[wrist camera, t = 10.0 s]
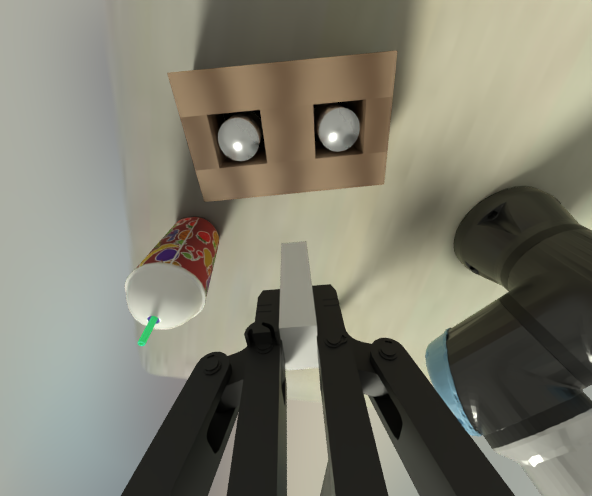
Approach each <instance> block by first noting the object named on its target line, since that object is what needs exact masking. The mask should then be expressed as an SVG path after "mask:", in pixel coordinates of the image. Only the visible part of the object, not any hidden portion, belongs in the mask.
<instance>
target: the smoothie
mask: <svg viewBox="0 0 592 496" xmlns="http://www.w3.org/2000/svg"><path fill="white" fill-rule="evenodd" d="M218 245H219V236H218V233H217V231H216V230H215V228H214V226H213V225H212V224H211V223H210V222H209V221H207V220H205V219H203V218H200V217H188V218H183V219H181V220H179V221H177V222H176V224H175V225H174V226H173V227H172V228H171V229H170V230H169V232H168V233H167V234H166V235H165V236H164V237H163V238H162V240H161V241H160V242H159V243H158V244H157V245H156V246H155V247H154V249H153V250H152V251H151V252H150V253H149V254H148V255H147V256H146V258H145V259H144V260H143V261H142V262H141V263H140V264H139V266H138V267H137V268H136V269H134V270H133V271H132V273H131V274H130V275H129V276H128V277H127V279H126V283H125V291H126V300H127V305H128V308H129V311H130V312H131V314H132V315H133V317H134V318H135V319H136V320H137V321H138V322H139V323H141V324H143V325H145V326H146V328H145V330H144V332H143V333H142V335H141V337H140V339H139V341H138V345H140V346H144V345H145V344H146V342H147V340H148V338H149V336H150V334H151V332H152V330H153V329H160V330H165V329H172V328H175V327H178V326H180V325H182V324H184V323H186V322H187V321H188V320H189V319H191V318H193V317H195V316H196V315H197V314H198V313H200V312H201V311H202V309H203V307H204V305H205V303H206V296H207V292H208V288H209V283H210V279H211V275H212V271H213V266H214V262H215V258H216V253H217V249H218Z"/></svg>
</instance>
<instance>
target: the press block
mask: <svg viewBox="0 0 592 496" xmlns="http://www.w3.org/2000/svg"><path fill="white" fill-rule="evenodd" d="M396 60H397V51H387V52H376V53H366V54H356V55H346V56H335V57H325V58H315V59H304V60H294V61H284V62H274V63H263V64H253V65H243V66H233V67H222V68H212V69H202V70H192V71H181V72H171V73H167V74H168V77H169V81H170V84H171V88H172V91H173V95H174V98H175V102H176V105H177V108H178V112H179V115H180V119H181V122H182V126H183V129H184V133H185V136H186V140H187V143H188V147H189V150H190V154H191V157H192V161H193V164H194V167H195V171H196V174H197V178H198V181H199V185H200V188H201V192H202V195H203V199H204V202H209V201H219V200H230V199H240V198H250V197H260V196H270V195H280V194H290V193H301V192H311V191H321V190H331V189H341V188H351V187H362V186H372V185H382V184H384V179H385V169H386V159H387V150H388V140H389V130H390V120H391V110H392V100H393V90H394V80H395V70H396ZM343 101H348V103H347V109H349V110H351V111H352V112H353V113H354V114H355V115H356V116H357V118H358V120H359V125H360V130H359V135H358V138H357V140H356V141H355V143H354V144H353V145H352V146H351V147H350V148H348V149H346V150H344V151H339V152H336V151H332V150H329V149H328V148H326V147H325V146H324V145H323V143H322V142H321V141H320V142H315V137H314V113H313V104H323V103H333V102H343ZM252 110H260V114H261V121H262V128H263V135H264V142H265V147H259V148H258V150H257V152H256V153H255V155H254V156H253V157H252V158H250V159H248V160H245V161H236V160H233V159H231V158H229V157H228V156H226V155H225V154H224V153H223V151H222V150H221V148H220V146H219V143H218V132H219V129H220V127H221V126H222V124H223V123H224V122H225V119H224V114H223V113H231V112H241V111H252Z"/></svg>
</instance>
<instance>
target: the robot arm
mask: <svg viewBox="0 0 592 496" xmlns="http://www.w3.org/2000/svg"><path fill="white" fill-rule="evenodd" d="M454 251H455V254H456V256H457V258H458V259H459V260H460V262H461V263H462V264H463V265H464V266H465V267H466V268H468V269H469V270H470V271H472V272H474V273H476V274H478V275H480V276H482V277H484V278H486V279H489V280H491V281H493V282H495V283H497V284H500V285H502V286H503V287H504V288H506V289H507V290H508V291H509V292H508V293H506V294H505V295H503V296H502V297H500V298H499V299H497V300H495V301H494V302H492V303H491V304H489V305H488V306H486V307H484V308H483V309H481V310H480V311H478V312H476V313H475V314H473V315H472V316H470V317H469V318H467V319H465V320H464V321H462V322H461V323H459V324H457V325H456V326H454V327H453V328H448V329H446V330H445V332H444V334H442V335H441V336H439V337H438V338H437V339H435V340H434V341H432V342H431V343H430V344H429V345H428V347H427V349H426V355H425V357H426V366H427V370H428V373H429V376H430V379H431V381H432V384H433V386H434V387H433V386H432V384H431V383H430V382H429V380H428V379H427V378H426V376H425V375H424V374H423V372H422V371H421V370H420V368H419V367H418V366H417V364H416V363H415V362H414V360H413V359H412V358H411V356H410V355H409V354H408V352H407V351H406V350H405V348H404V347H403V346H402V345H401V344H400V343H399V342H397V341H395V340H393V339H389V338H379V339H377V340H375V341H374V342H373V343H372V344H369V343H364V342H360V341H357V340H355V339H353V338H352V337H351V336H350V335H349V334H348V333H347V332H346V329H345V326H344V322H343V318H342V314H341V309H340V306H339V301H338V297H337V293H336V290H335V289H334V288H333V287H332V286H331V284H329V285H317V286H312V282H311V274H310V266H309V258H308V251H307V243H306V241H304V242H292V243H282V245H281V277H280V289H276V290H263V291H262V293H261V294H260V296H259V297H258V302H257V310H256V317H255V322H254V323H252V324H251V325H250V326H249V327H248V328H247V329H246V331H245V333H244V335H245V339H246V343H247V347H246V348H245V349H243V350H242V351H240V352H238V353H235V354H232V355H229V356H227V355H226V354H224V353H222V352H212V353H209V354H207V355H205V356H204V357H203V358H201V359H200V361H199V362H198V363H197V365H196V366H195V368H194V370H193V371H192V373H191V375H190V377H189V378H188V380H187V382H186V384H185V385H184V387H183V389H182V391H181V392H180V394H179V396H178V397H177V399H176V401H175V403H174V404H173V406H172V408H171V410H170V411H169V413H168V415H167V417H166V418H165V420H164V422H163V424H162V425H161V427H160V429H159V430H158V432H157V434H156V436H155V437H154V439H153V441H152V443H151V444H150V446H149V448H148V450H147V451H146V453H145V455H144V456H143V458H142V460H141V462H140V463H139V465H138V467H137V469H136V470H135V472H134V474H133V476H132V477H131V479H130V481H129V483H128V484H127V486H126V488H125V489H124V491H123V493H122V495H121V496H208V493H209V491H210V488H211V485H212V482H213V480H214V477H215V475H216V472H217V469H218V466H219V464H220V461H221V458H222V456H223V453H224V450H225V447H226V445H227V442H228V439H229V436H230V434H231V431H232V428H233V426H234V423H235V420H236V418H237V415H238V420H237V428H236V434H235V441H234V448H233V456H232V462H231V470H230V477H229V483H228V490H227V496H287V423H286V422H287V420H286V419H287V414H286V413H287V411H286V409H287V405H286V403H287V385H286V377H285V368H286V370H298V369H311V368H319V374H320V391H321V396H322V405H323V414H324V423H325V432H326V441H327V450H328V460H329V469H330V478H331V487H332V496H388V492H387V489H386V484H385V480H384V476H383V472H382V468H381V464H380V460H379V456H378V452H377V447H376V443H375V439H374V435H373V431H372V427H371V423H370V419H369V415H368V411H367V407H366V402H365V398H364V394H366V395H368V396H369V398H370V400H371V402H372V404H373V406H374V408H375V410H376V412H377V414H378V416H379V418H380V420H381V422H382V424H383V425H384V427H385V429H386V431H387V433H388V435H389V437H390V439H391V441H392V443H393V445H394V447H395V449H396V451H397V453H398V454H399V457H400V459H401V460H402V462H403V464H404V466H405V468H406V470H407V472H408V474H409V476H410V478H411V480H412V482H413V484H414V486H415V487H416V489H417V491H418V493H419V495H420V496H515V495H514V494H513V492H512V491H511V490H510V488H509V487H508V486H507V484H506V483H505V482H504V481H503V479H502V478H501V477H500V475H499V474H498V472H497V471H496V470H495V469H494V467H493V466H492V464H491V463H490V462H489V461H488V459H487V458H486V457H485V455H484V454H483V453H482V451H481V450H480V448H479V447H478V446H477V444H476V443H475V442H474V440H473V439H472V438H471V437H470V435H472V436H482V435H483V436H484V437H485V439H486V440H487V441H488V443H489V445H490V446H491V448H492V449H493V450H494V451H495V452H496V453H498V454H500V455H503V456H505V457H507V458H509V459H511V460H514V461H515V462H517V463H518V464H519V465H520V466H521V467H522V469H523V470H524V471H525V473H526V474H527V476H528V477H529V478H530V480H531V481H532V483H533V484H534V486H535V487H536V488H537V490H538V491H539V492H540V494H541V495H542V496H592V401H591V400H590V398H589V397H587V396H586V394H585V393H584V392H583V390H582V389H584V388H586V387H588V386H590V385H592V230H590V229H588V228H585V227H584V226H582V225H580V224H579V223H578V222H577V221H576V220H575V219H574V218H573V216H572V215H571V214H570V213H569V212H568V211H567V210H566V209H565V208H564V207H563V206H562V205H561V203H560V202H559V201H558V200H557V199H556V198H555V197H553V196H552V195H550V194H548V193H546V192H544V191H541V190H539V189H536V188H533V187H525V186H522V187H513V188H509V189H506V190H503V191H500V192H498V193H495V194H493V195H491V196H490V197H488V198H486V199H485V200H483V201H482V202H480V203H479V204H478V205H477V206H475V207H474V208H473V209H472V210H471V211H470V212H469V213H468V214H467V216H466V217H465V218H464V219H463V221H462V222H461V224H460V226H459V228H458V230H457V232H456V235H455V239H454ZM238 412H239V413H238ZM469 434H470V435H469Z"/></svg>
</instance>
